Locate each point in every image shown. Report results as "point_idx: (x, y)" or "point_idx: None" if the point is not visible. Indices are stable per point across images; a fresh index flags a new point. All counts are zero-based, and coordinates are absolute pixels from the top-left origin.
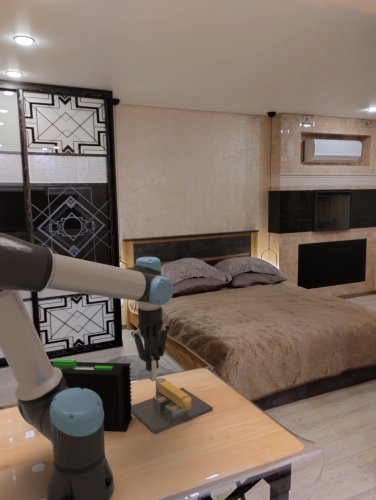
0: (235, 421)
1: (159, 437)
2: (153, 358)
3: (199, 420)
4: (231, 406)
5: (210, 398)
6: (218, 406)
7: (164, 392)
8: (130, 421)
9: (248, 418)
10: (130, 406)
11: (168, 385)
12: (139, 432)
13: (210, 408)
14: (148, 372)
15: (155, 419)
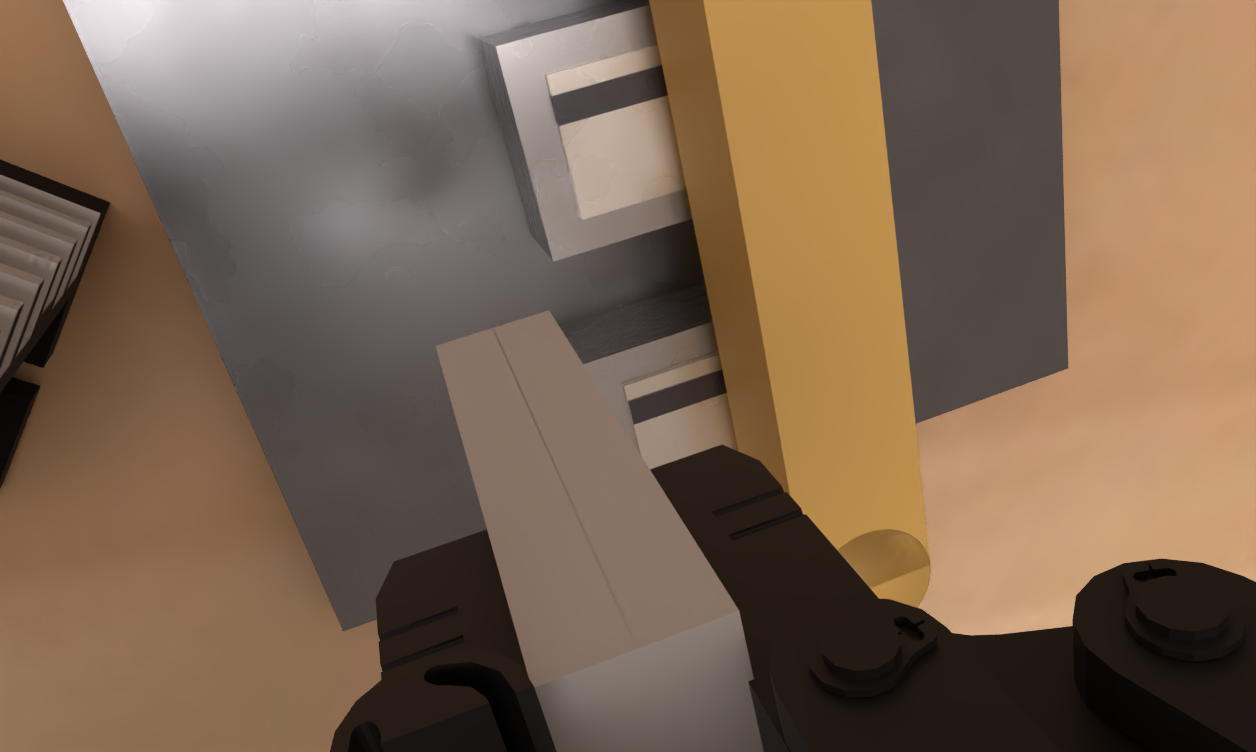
0: (1090, 578)
1: (379, 667)
2: (767, 742)
3: None
4: (1218, 346)
5: (1167, 112)
6: (1130, 306)
7: (692, 136)
8: (68, 309)
9: (1194, 561)
10: (22, 358)
11: (812, 132)
12: (171, 547)
13: (1040, 374)
14: (458, 424)
15: (409, 424)
